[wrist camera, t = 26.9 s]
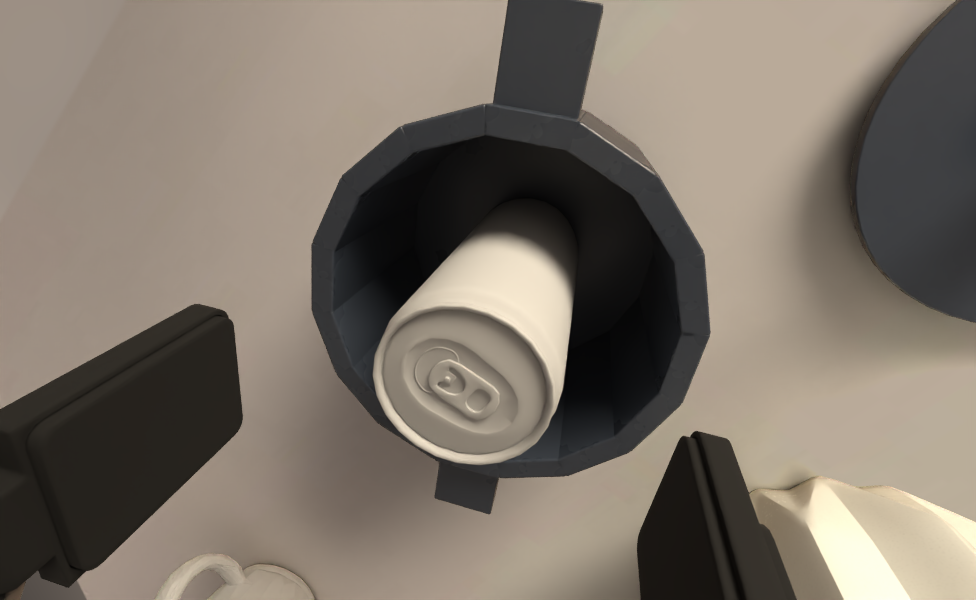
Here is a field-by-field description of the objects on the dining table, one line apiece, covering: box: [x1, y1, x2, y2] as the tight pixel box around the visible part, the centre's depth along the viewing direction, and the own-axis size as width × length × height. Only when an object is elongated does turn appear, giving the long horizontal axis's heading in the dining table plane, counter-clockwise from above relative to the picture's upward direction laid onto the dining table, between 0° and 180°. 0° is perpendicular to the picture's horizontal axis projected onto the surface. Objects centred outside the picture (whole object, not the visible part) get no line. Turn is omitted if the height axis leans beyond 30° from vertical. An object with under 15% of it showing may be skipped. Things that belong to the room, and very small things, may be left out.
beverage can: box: [373, 198, 578, 465], centre depth 17 cm, size 5×5×12 cm
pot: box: [312, 0, 710, 514], centre depth 19 cm, size 13×18×8 cm
